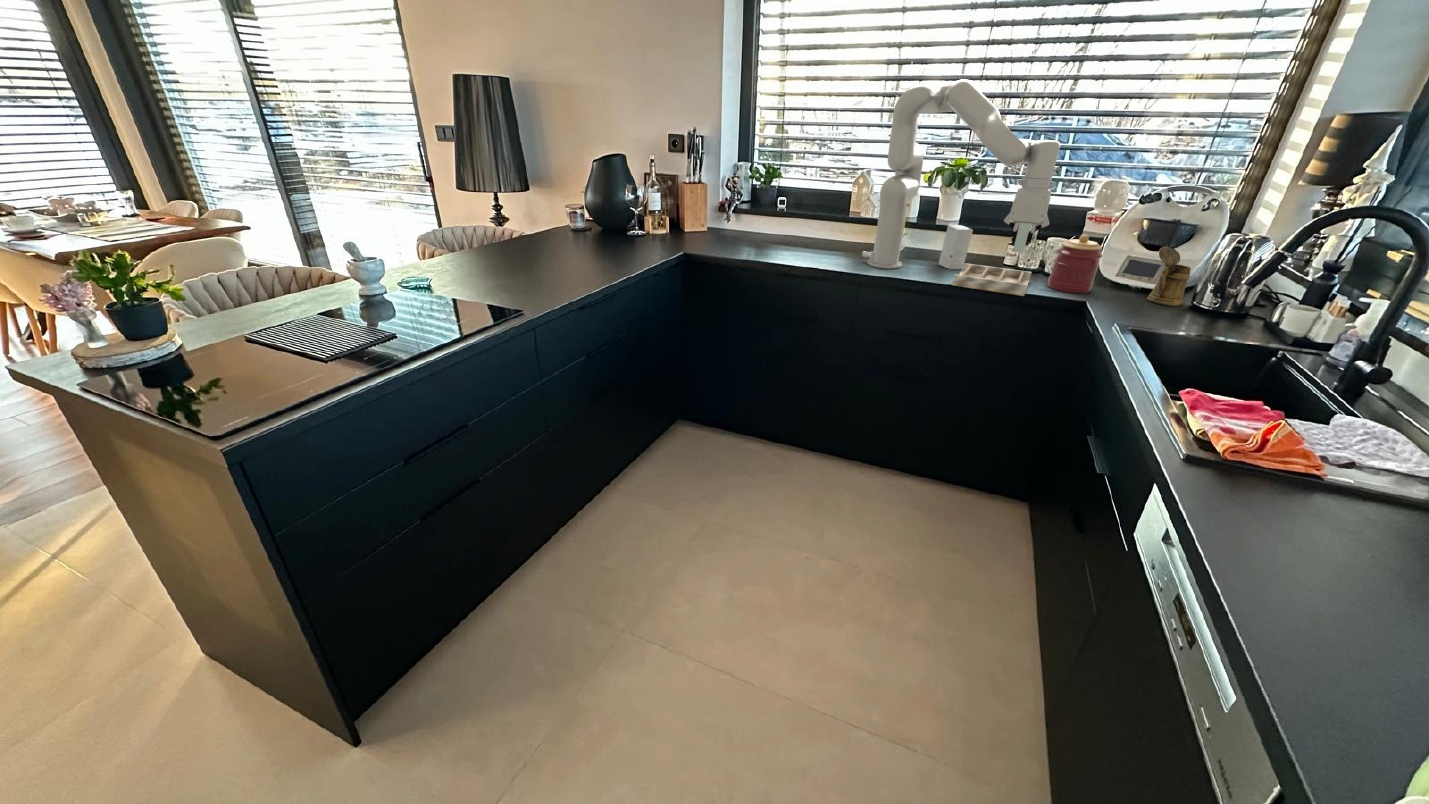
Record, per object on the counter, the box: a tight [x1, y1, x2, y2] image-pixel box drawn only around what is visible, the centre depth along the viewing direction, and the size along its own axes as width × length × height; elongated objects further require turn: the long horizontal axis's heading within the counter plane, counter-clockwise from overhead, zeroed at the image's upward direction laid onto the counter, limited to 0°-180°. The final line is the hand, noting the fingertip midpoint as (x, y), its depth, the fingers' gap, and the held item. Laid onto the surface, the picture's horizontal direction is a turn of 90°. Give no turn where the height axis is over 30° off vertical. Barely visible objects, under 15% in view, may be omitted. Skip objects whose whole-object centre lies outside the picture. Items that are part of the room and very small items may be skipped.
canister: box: [1047, 234, 1103, 294], centre depth 183 cm, size 13×13×18 cm
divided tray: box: [951, 262, 1032, 297], centre depth 189 cm, size 22×20×4 cm
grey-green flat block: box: [1012, 222, 1032, 253], centre depth 180 cm, size 3×8×9 cm, turn 149°
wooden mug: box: [1146, 245, 1192, 307], centre depth 170 cm, size 9×14×18 cm, turn 110°
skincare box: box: [938, 224, 974, 270], centre depth 207 cm, size 8×6×15 cm
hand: (1020, 243), depth 181 cm, fingers closed on grey-green flat block, 3 cm apart
